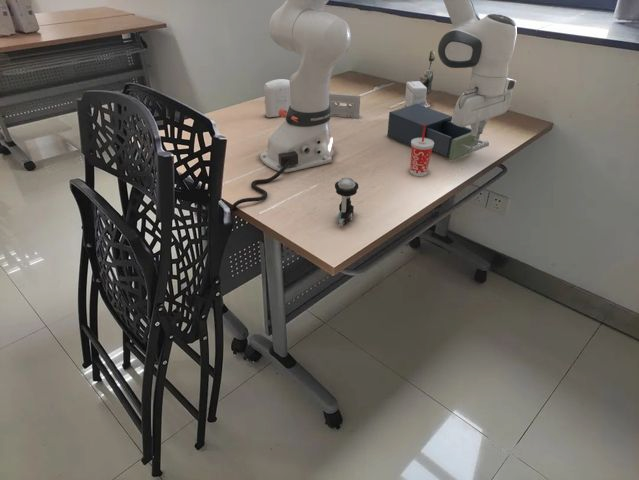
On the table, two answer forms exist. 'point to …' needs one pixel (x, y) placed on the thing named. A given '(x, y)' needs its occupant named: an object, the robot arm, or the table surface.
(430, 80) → the plant with pod
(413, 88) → the ink box
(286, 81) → the photo printer
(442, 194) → the table surface
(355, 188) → the push button
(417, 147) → the beverage cup
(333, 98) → the cassette
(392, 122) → the cabinet
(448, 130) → the drawer
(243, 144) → the table surface
